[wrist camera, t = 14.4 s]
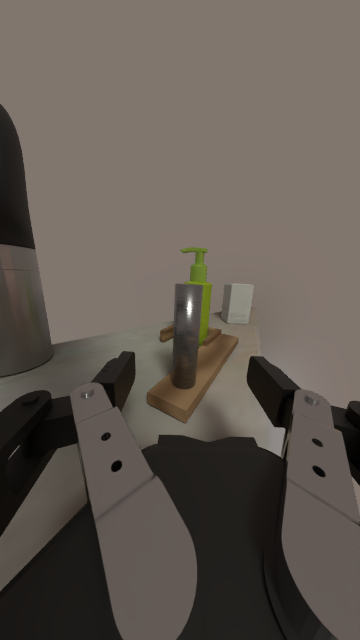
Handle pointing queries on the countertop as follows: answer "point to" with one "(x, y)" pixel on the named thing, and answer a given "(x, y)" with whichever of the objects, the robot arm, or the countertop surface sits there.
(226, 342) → the base with upright cylinder
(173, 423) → the countertop surface
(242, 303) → the supplement box
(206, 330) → the soap dispenser
